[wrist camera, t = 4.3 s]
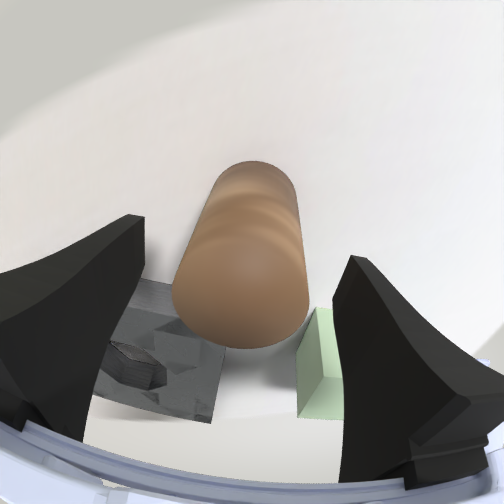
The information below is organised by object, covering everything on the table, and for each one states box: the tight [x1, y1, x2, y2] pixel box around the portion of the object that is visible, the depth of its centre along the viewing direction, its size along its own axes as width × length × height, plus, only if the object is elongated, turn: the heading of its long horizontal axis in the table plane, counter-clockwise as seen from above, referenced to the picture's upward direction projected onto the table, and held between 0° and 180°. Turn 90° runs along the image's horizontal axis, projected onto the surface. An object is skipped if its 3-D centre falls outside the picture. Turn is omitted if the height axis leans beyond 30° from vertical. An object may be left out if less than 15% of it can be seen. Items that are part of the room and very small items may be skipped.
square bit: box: [296, 307, 344, 420], centre depth 18 cm, size 4×4×5 cm
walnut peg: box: [172, 161, 309, 349], centre depth 12 cm, size 4×4×7 cm
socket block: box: [93, 278, 226, 424], centre depth 20 cm, size 12×12×2 cm
